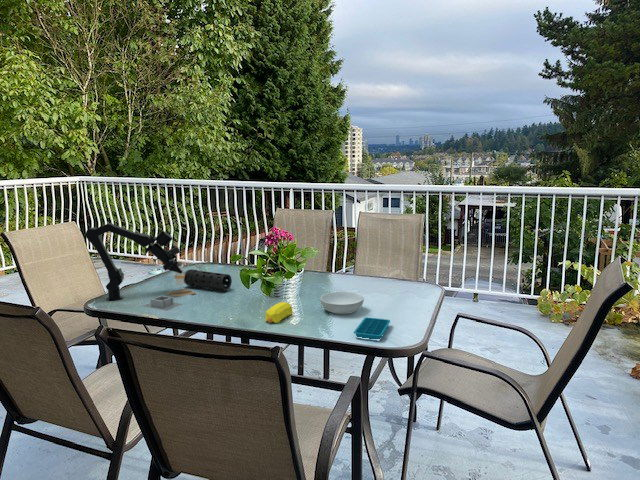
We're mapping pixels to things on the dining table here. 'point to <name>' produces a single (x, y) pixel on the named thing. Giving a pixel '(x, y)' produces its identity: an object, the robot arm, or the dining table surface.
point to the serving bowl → (342, 302)
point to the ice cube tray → (372, 328)
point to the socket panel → (162, 303)
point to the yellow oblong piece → (278, 312)
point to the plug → (180, 275)
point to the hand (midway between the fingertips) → (182, 271)
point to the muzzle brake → (207, 280)
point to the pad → (181, 292)
